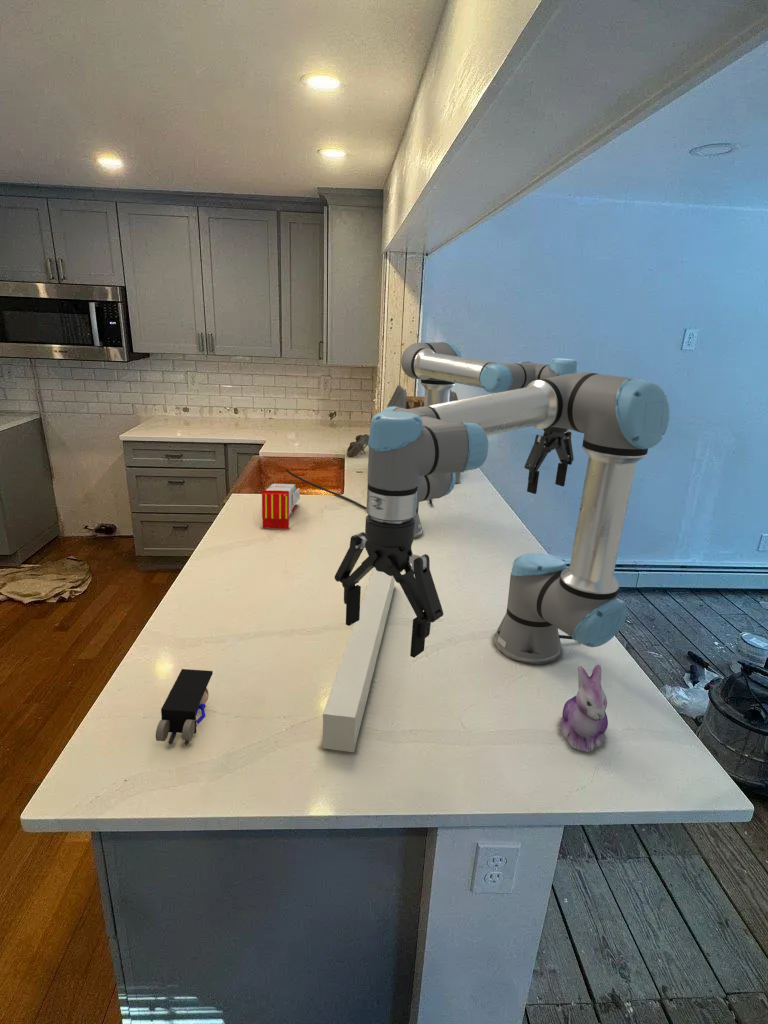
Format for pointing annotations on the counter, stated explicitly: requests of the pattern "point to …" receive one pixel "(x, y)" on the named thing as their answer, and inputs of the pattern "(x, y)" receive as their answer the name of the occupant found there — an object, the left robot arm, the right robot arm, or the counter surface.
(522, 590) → the right robot arm
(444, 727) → the counter surface
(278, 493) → the toy
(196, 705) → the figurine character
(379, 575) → the bar
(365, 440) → the fossil
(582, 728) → the figurine
